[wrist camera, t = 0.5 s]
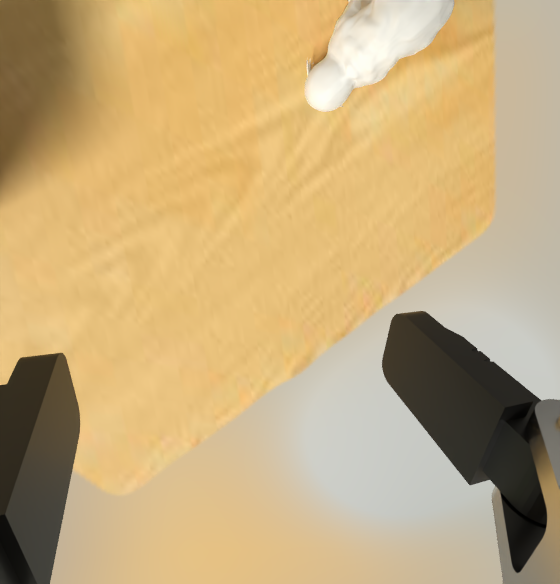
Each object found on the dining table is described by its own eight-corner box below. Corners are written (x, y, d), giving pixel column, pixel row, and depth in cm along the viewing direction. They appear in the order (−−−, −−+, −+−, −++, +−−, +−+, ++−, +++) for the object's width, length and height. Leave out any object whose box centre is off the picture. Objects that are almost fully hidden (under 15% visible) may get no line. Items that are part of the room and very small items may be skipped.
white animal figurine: (480, 10, 27) (359, 141, 29) (414, 24, 34) (321, 128, 37) (439, -80, 24) (307, 74, 26) (375, -44, 31) (276, 74, 33)
